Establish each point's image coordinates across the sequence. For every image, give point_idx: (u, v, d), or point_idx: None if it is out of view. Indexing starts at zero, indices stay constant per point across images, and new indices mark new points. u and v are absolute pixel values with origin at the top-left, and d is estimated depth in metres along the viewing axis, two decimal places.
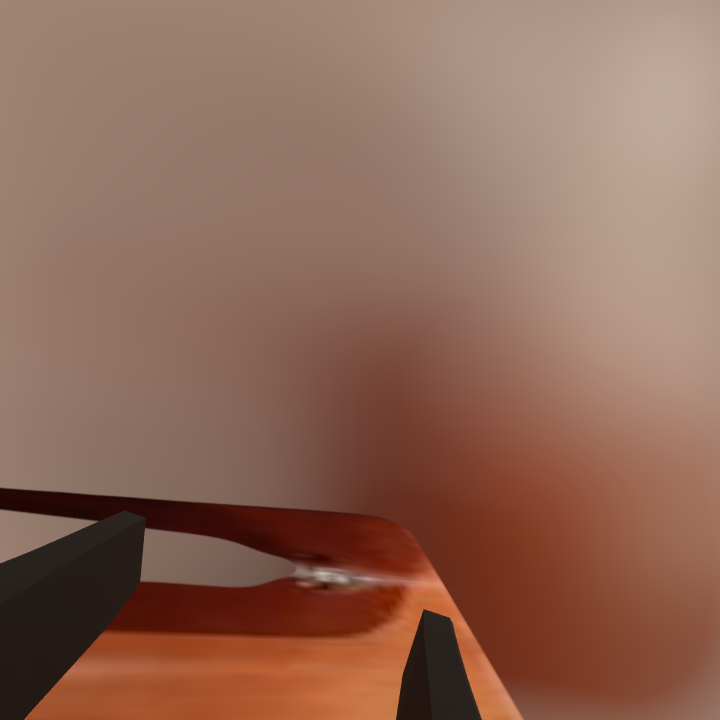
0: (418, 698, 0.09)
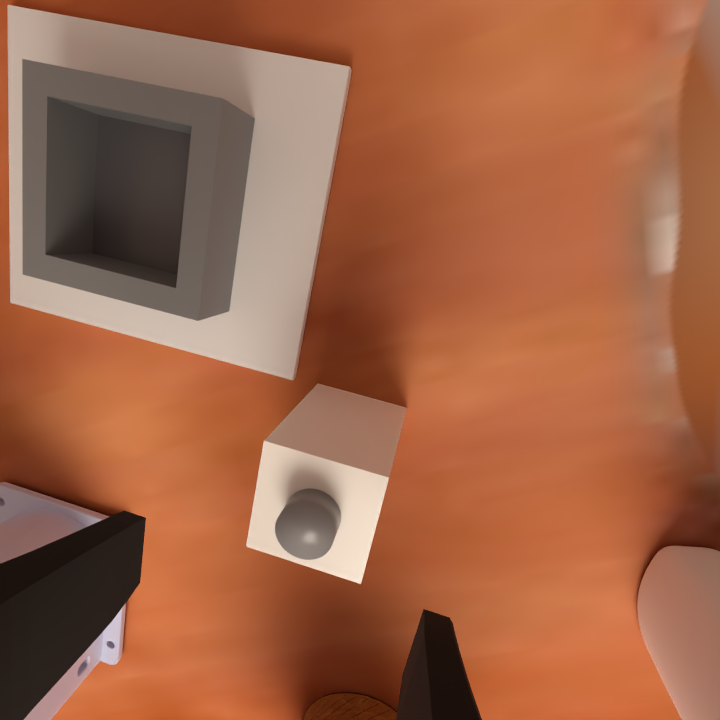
0: (418, 699, 0.09)
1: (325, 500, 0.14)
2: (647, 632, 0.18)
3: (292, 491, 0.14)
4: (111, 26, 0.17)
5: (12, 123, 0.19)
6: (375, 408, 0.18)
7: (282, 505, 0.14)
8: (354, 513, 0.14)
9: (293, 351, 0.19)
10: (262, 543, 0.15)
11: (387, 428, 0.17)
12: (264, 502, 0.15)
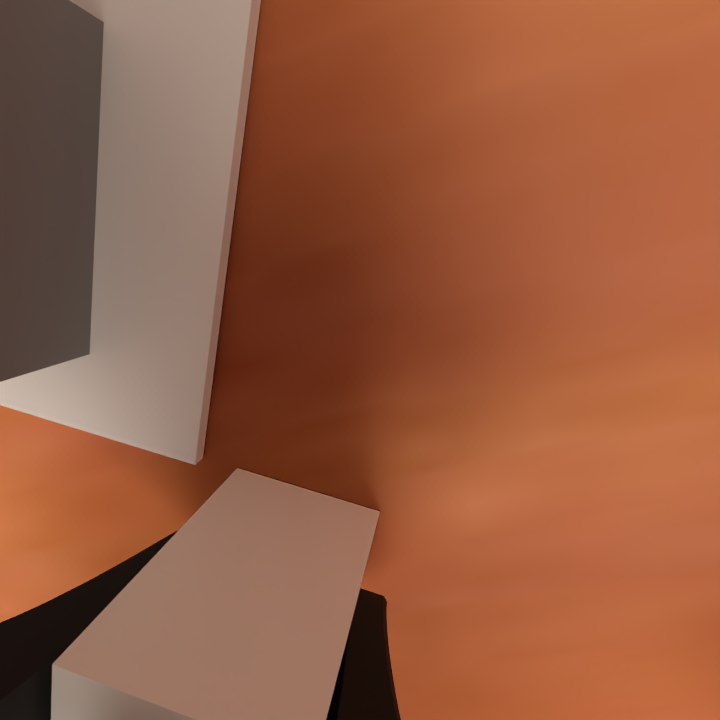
0: (340, 671, 0.09)
1: None
2: None
3: None
4: None
5: None
6: (325, 520, 0.11)
7: None
8: None
9: (192, 420, 0.12)
10: None
11: (337, 577, 0.09)
12: None
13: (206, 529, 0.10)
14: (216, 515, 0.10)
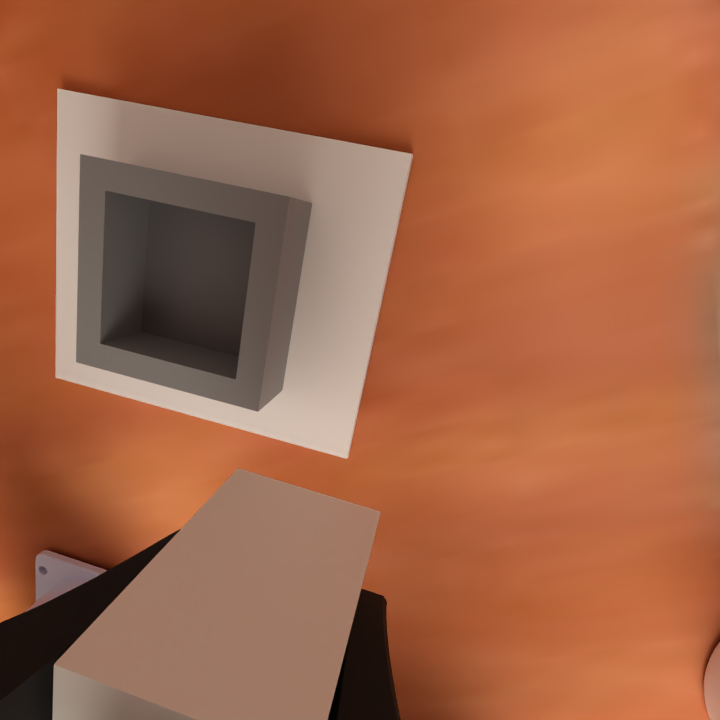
0: (340, 671, 0.09)
1: None
2: (718, 718, 0.18)
3: None
4: (164, 111, 0.17)
5: (60, 203, 0.19)
6: (326, 520, 0.11)
7: None
8: None
9: (348, 430, 0.19)
10: None
11: (339, 577, 0.09)
12: None
13: (207, 529, 0.10)
14: (217, 515, 0.10)
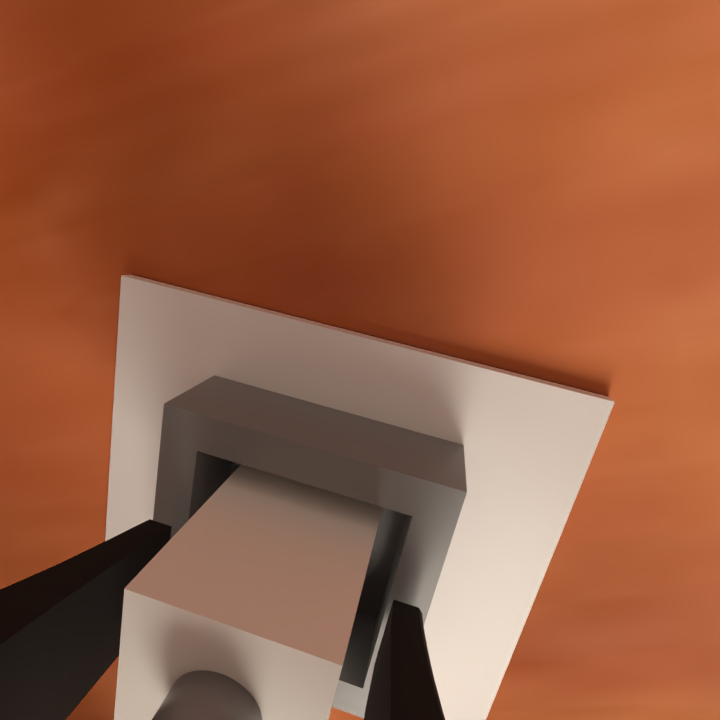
0: (382, 686, 0.09)
1: (229, 701, 0.08)
2: None
3: (178, 673, 0.08)
4: (266, 315, 0.13)
5: (118, 408, 0.14)
6: None
7: (163, 692, 0.08)
8: (284, 716, 0.08)
9: (484, 704, 0.15)
10: None
11: (354, 532, 0.11)
12: (134, 685, 0.08)
13: (238, 492, 0.11)
14: (246, 481, 0.12)
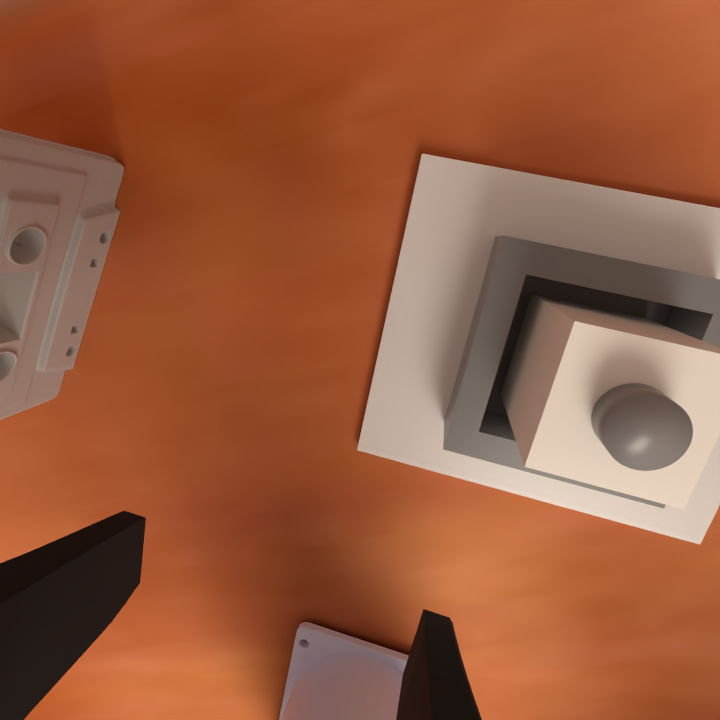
0: (418, 698, 0.09)
1: (663, 394, 0.11)
2: None
3: (605, 389, 0.11)
4: (550, 180, 0.16)
5: (400, 273, 0.17)
6: (620, 315, 0.15)
7: (586, 408, 0.11)
8: (692, 413, 0.11)
9: (707, 516, 0.17)
10: (548, 461, 0.12)
11: (665, 329, 0.14)
12: (561, 406, 0.11)
13: (562, 305, 0.14)
14: (556, 303, 0.15)
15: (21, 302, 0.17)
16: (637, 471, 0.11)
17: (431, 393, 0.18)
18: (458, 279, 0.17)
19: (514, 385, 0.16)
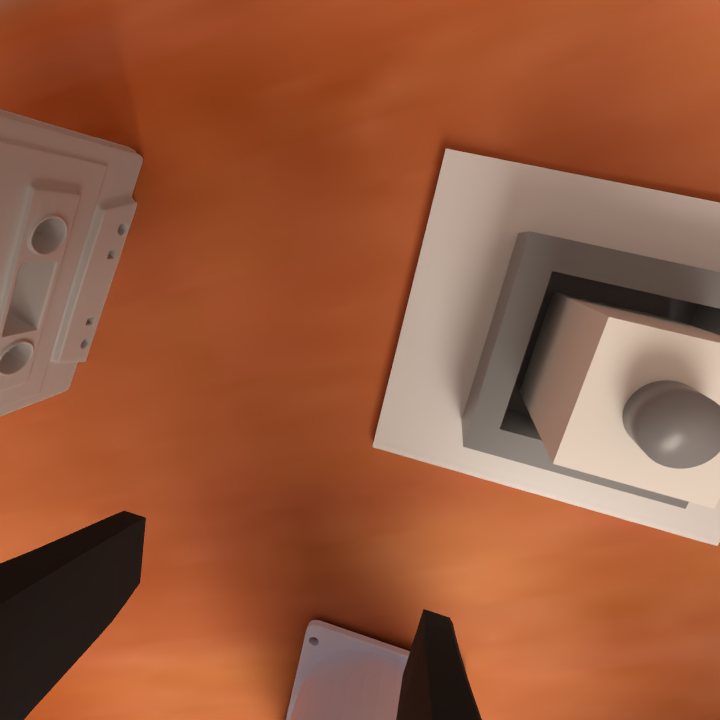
0: (418, 699, 0.09)
1: (698, 392, 0.10)
2: None
3: (637, 385, 0.11)
4: (575, 177, 0.16)
5: (421, 268, 0.17)
6: (644, 313, 0.15)
7: (618, 405, 0.11)
8: None
9: None
10: (577, 458, 0.12)
11: (692, 327, 0.13)
12: (592, 402, 0.11)
13: (588, 302, 0.14)
14: (581, 300, 0.14)
15: (39, 292, 0.17)
16: (668, 469, 0.11)
17: (449, 390, 0.18)
18: (479, 276, 0.17)
19: (536, 383, 0.15)
